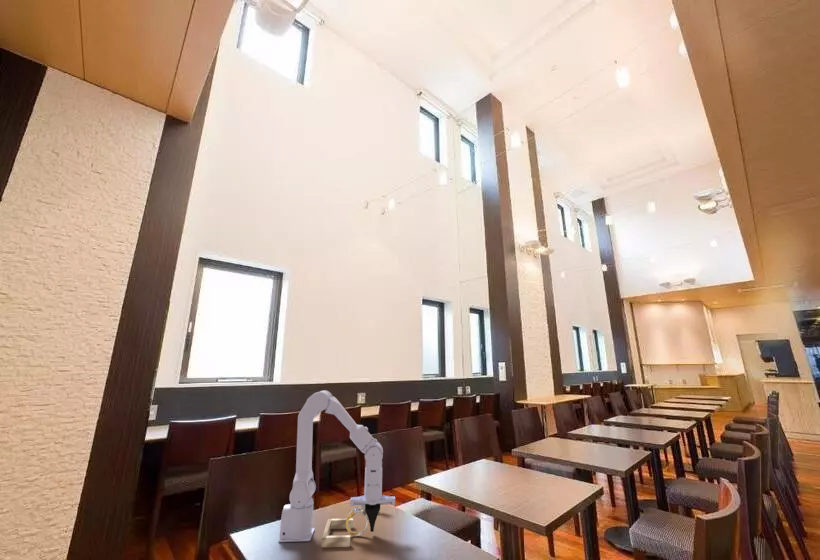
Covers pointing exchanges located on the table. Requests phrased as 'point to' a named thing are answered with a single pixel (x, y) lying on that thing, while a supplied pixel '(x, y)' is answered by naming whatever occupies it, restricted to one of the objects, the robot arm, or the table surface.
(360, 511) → the ring
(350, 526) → the keeper
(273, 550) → the table surface
